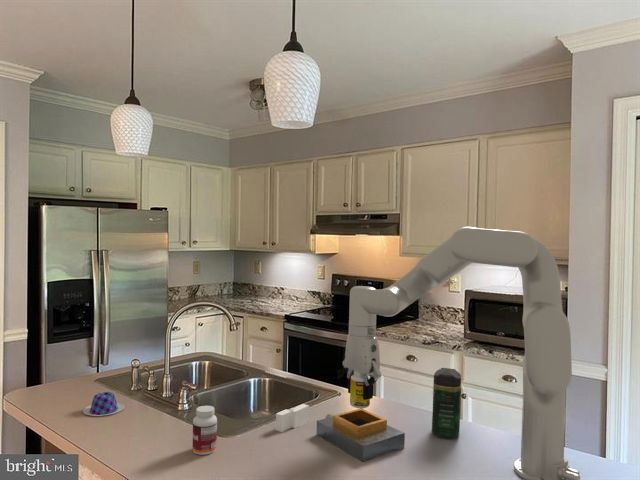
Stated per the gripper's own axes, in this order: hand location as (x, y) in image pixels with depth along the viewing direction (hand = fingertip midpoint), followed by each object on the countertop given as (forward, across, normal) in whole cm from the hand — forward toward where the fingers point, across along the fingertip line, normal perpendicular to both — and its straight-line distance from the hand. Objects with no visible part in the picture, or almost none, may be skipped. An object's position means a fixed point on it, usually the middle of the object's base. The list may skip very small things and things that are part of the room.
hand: (360, 394), depth 134 cm
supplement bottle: (+3, 0, 0) cm, 3 cm away
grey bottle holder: (+13, +2, 0) cm, 13 cm away
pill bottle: (+13, +18, +38) cm, 44 cm away
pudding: (+14, +62, +53) cm, 83 cm away
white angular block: (+14, +20, +10) cm, 26 cm away
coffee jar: (+13, -10, -25) cm, 30 cm away
